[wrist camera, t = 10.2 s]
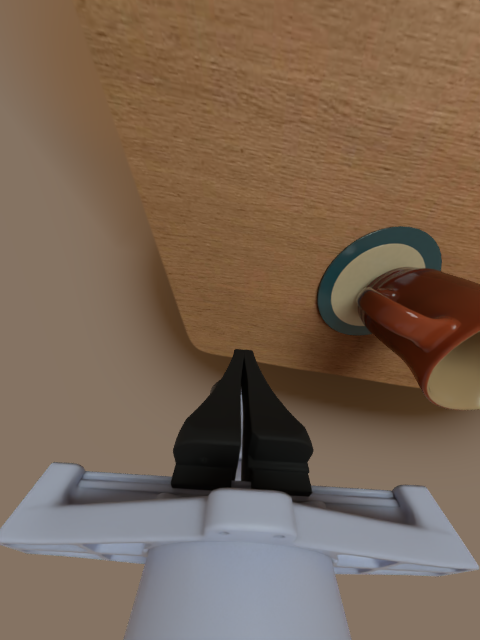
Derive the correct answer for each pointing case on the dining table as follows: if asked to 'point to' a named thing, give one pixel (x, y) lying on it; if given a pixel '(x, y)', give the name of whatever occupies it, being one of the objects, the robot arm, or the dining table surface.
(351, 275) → the plate
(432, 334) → the mug
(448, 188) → the dining table surface
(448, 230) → the dining table surface
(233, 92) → the dining table surface
